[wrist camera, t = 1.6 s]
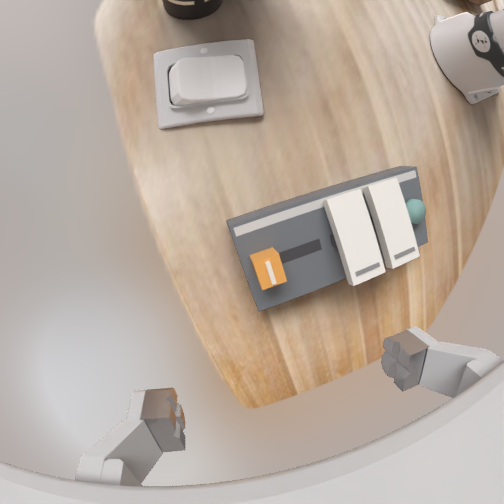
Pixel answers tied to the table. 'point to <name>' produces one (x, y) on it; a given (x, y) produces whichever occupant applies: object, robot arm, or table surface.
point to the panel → (308, 237)
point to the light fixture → (191, 8)
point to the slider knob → (268, 268)
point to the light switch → (207, 83)
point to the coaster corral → (479, 1)
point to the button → (415, 210)
